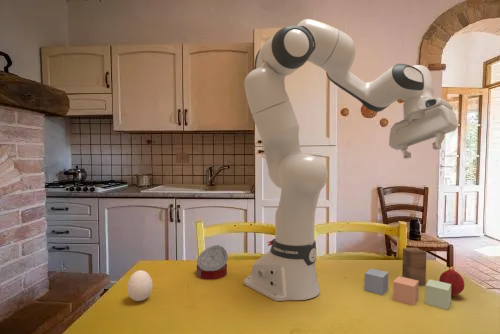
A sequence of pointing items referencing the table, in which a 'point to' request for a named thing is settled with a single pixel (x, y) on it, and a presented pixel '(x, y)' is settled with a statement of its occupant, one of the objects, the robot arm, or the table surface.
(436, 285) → the cube sage
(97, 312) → the table surface
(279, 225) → the robot arm
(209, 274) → the canned food
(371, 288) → the cube slate
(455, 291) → the pomegranate
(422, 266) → the block walnut
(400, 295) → the cube terracotta
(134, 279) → the egg
